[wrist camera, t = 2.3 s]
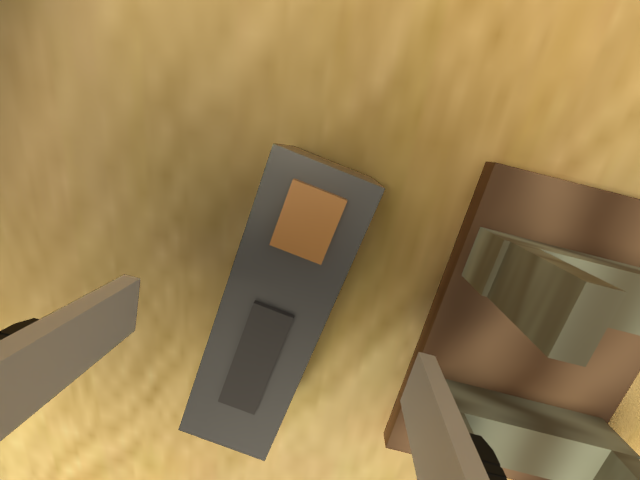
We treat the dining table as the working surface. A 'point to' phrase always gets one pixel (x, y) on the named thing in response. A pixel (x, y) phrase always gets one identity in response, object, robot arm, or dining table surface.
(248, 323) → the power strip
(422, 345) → the rack
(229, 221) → the dining table surface
